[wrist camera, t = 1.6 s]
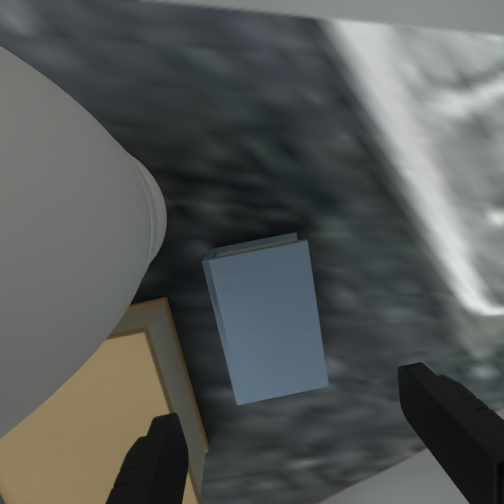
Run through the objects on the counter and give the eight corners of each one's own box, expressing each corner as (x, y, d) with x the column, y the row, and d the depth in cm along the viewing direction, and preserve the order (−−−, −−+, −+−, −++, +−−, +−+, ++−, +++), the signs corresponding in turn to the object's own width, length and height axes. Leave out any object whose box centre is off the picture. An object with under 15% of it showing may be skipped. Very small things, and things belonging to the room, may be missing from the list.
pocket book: (207, 249, 17) (201, 261, 14) (295, 231, 17) (307, 240, 14) (236, 372, 19) (236, 406, 16) (314, 356, 19) (329, 386, 16)
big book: (11, 328, 17) (-64, 374, 13) (167, 296, 17) (144, 331, 13) (75, 473, 20) (30, 553, 16) (208, 445, 20) (201, 515, 16)
